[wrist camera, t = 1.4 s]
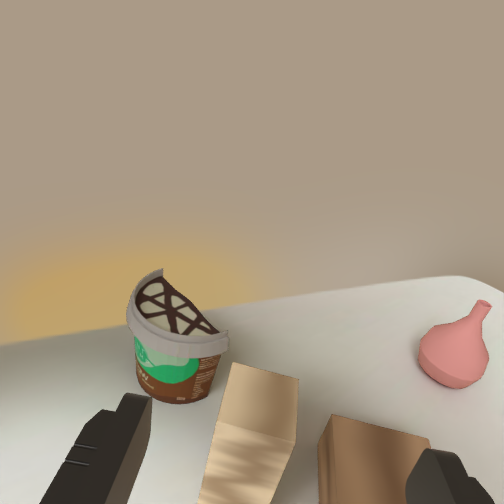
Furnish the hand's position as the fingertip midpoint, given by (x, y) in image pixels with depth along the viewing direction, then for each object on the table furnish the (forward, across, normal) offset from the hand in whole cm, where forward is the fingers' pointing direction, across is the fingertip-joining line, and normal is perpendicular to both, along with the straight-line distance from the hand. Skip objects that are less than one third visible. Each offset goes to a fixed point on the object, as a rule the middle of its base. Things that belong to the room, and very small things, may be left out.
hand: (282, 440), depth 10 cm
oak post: (+11, 0, +22) cm, 24 cm away
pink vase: (+30, -26, +22) cm, 45 cm away
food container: (+21, +9, +21) cm, 31 cm away
